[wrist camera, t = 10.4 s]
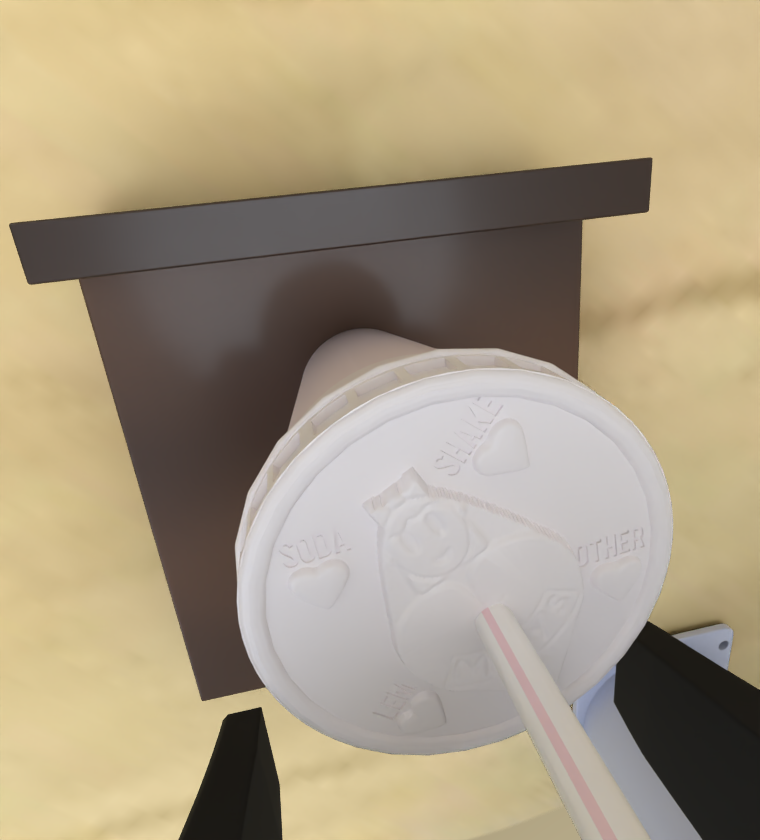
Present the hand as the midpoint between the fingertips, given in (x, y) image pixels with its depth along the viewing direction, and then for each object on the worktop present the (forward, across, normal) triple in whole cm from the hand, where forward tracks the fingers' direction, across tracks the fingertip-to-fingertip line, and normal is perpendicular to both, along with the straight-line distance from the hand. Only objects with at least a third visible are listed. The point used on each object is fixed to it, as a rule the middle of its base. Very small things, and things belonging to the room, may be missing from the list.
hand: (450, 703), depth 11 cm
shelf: (+10, 0, -2) cm, 11 cm away
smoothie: (+8, 0, -4) cm, 9 cm away
